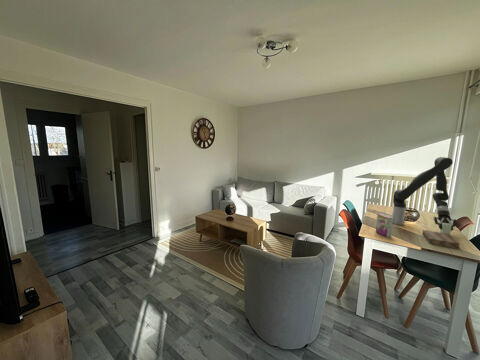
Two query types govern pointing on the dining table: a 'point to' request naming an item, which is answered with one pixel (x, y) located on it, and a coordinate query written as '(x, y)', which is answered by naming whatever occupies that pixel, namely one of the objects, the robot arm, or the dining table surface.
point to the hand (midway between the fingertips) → (446, 229)
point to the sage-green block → (446, 228)
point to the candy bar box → (384, 225)
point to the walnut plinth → (440, 239)
